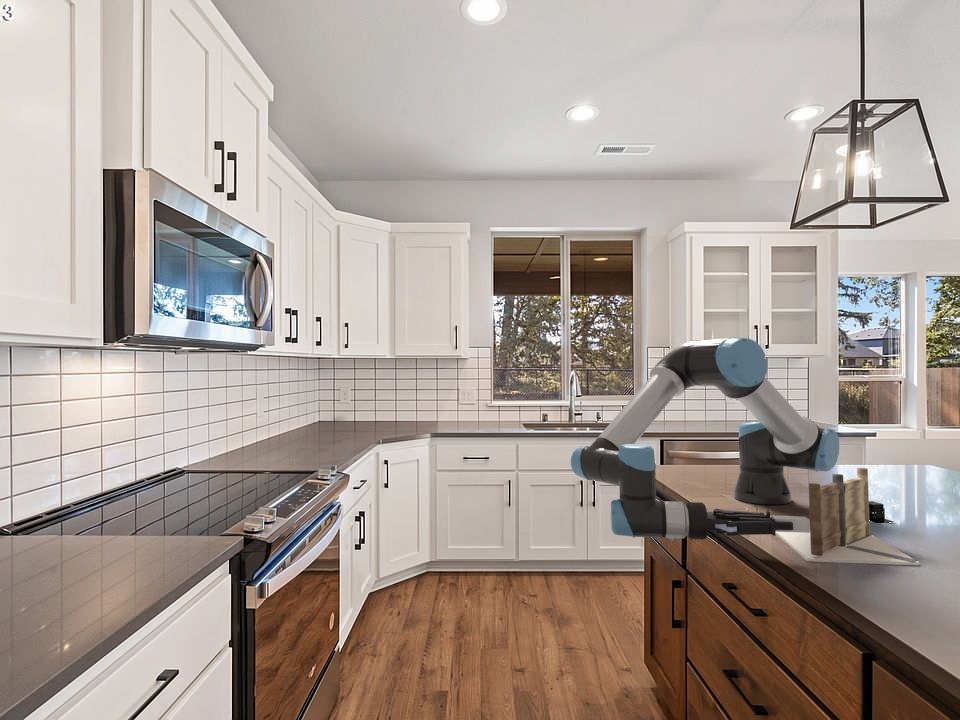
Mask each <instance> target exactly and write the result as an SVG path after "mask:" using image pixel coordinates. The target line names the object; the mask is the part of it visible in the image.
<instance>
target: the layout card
mask: <svg viewBox="0 0 960 720" xmlns="http://www.w3.org/2000/svg"><path fill="white" fill-rule="evenodd" d="M775 533H776V535H775V536H777V537H778V538H779V539H780V540H782V541H783V542H784V543H785V544H786V545H787V546H789V547H790V548H791V549H792V550H794V551H795V552H796V553H797V554H798V555H799V556H800V557H802V558H803V559H804V560H805V561H807V562H817V563H840V564H841V563H843V564H844V563H845V564H846V563H847V564H868V565H869V564H870V565H871V564H873V565H894V566H895V565H896V566H919V565H921V564H920V562H921V561H918V559H914V558H912V557H911V556H909V555H907V554H906V553H904V552H902V551H900V550H898V549H897V548H895V547H893V546H891V545H890V544H888V543H886V542H884V541H883V540H881V539H879V538H878V537H876V536H874V535H873V534H871V533H870V536H865V537H862V538H860V539H857V540H855V541H852V542H850V543H848V544H846V546H843V547H842V546H836V547H834V548H832V549H830V550H828V551H826V552H824V553H823V554H822V556H816V555H812V554H811V540H810V533H803V532H777V531H775Z"/></svg>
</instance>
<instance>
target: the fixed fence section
mask: <svg viewBox="0 0 960 720" xmlns="http://www.w3.org/2000/svg"><path fill="white" fill-rule="evenodd" d="M868 469H869V468H866V467H857V468H856V475H857V477H854V478H852V479H847V480H844V474H841V473H832V475H831V477H832V479H831V480H832V482H831V483H837V484H838V488H839V492H840V494H839V523H840V531H841V537H840V545H838V546H842V547H843V546H846V544H848V543H850V542H852V541H855V540H857V539H860V538H862V537H865V536H870V534H871V531H870V530H871V527H870V521H869V501H870V499H869V494H870V493H869V474H868V473H869V472H868V471H869V470H868Z"/></svg>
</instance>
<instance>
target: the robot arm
mask: <svg viewBox="0 0 960 720" xmlns="http://www.w3.org/2000/svg"><path fill="white" fill-rule="evenodd" d="M765 356H766V353H765V351H764V349H763V348H762V346H761V345H760V344H759V343H758V342H757V341H755V340H753V339H751V338H748V337H737V336H736V337H735V336H732V337H725V338H714V339H702V340H690V341H687V342H685V343H683V344H681V345H679V346H677V347H676V348H674V349H672V350H671V351H669V352H668V354H666V355H664V356H663V358H661V359H660V360H659V361H658V362H657V363H656V364H655V366H654V367H652V368H651V370H650V372H649V378H648V380H647V381H645V383H644V384H643V385H642V386H641V388H640V389H639V390H638V391H637V392H636V393H635V394H634V395H633V396H632V398H631V399H630V400H629V401H628V402H627V403H626V404H625V405H624V407H623V408H622V409H621V410H620V412H618V414H617V415H616V416H615V417H614V418H613V420H611V421H610V423H608V425H607V426H606V427H605V429H604V430H603V431H602V432H601V433H600V435H599V436H597V438H596V439H595V440H594V441H593V442H592V443H591V444H590V445H589V446H588V445H585V446H584V445H583V446H579V447H577V448H575V449H574V451H573V453H572V454H571V457H570V467H571V470H572V471H573V473H574V474H575V475H576V476H578V477H579V478H582V479H585V480H588V481H596V482H600V483H604V484H609V485H613V486H618V488H619V489H618V490H619V498H618V499H612V500H611V502H610V528H611V532H612V533H613V534H614V535H616V536H625V537H632V538H663V539H669V541H672V542H673V541H675V539H685V538H686V537H687V538H688V539H689V540H701V541H703V540H706V539H707V537H708V532H709V531H712V532H713V531H714V532H716V533H717V534H726V536H729V537H733V536H746V535H747V536H748V535H749V536H751V535H756V536H758V535H759V536H760V535H761V536H762V535H771V536H772V537H773V536H774V537H775V536H777V535H776V533H775V531H777V532H803V533H810V518H808V516H799V515H798V516H794V515H792V516H791V515H771V512H770V511H767V510H766V511H765V513H766V514H765V513H764V512H756V511H755V512H754V511H741V510H740V511H739V510H730V509H729V510H728V509H720V508H715V509H713V511H707V507H706V505H705V503H704V502H696V501H687V502H685V504H684V502H683V501H674V500H673V501H668V500H667V501H666V500H665V501H664V500H663V501H662V500H661V501H659V500H657V497H656V495H657V491H656V489H657V488H656V487H657V486H656V483H657V482H656V469H657V464H656V458H655V456H656V455H655V450H654V448H653V447H652V446H651V445H649V444H643V443H641V444H640V443H637V442H638V441H639V439H640V438H641V437H642V436H643V435H644V434H645V432H646V431H647V429H649V427H650V426H651V425H652V424H653V422H654V421H655V420H656V419H658V416H659V415H660V414H661V413H662V412H663V410H665V408H666V407H667V406H668V404H670V402H671V401H672V400H673V398H674V397H679V396H681V395H682V394H683V393H684V392H685V390H687V389H689V388H691V387H695V386H700V387H704V386H705V387H715V388H717V389H718V390H719V391H720V392H721V393H722V394H723V395H724V396H726V397H727V398H729V399H732V400H733V399H734V400H737V401H738V402H739V403H740V404H742V405H743V407H744V408H745V409H747V411H749V413H750V414H752V415H753V417H754V418H755V419H756V420H757V421H752V422H751V421H750V422H743V423H741V424H740V425H739V427H738V451H739V473H738V477H737V480H736V483H735V486H734V490H733V491H734V492H733V497H734V498H735V499H736V500H738V501H742V502H744V503H749V504H760V505H786V504H790V503H792V493H791V490H790V488H789V485H788V482H787V480H786V476H785V473H784V472H785V471H784V468H785V467H786V468H793V469H800V470H807V471H814V472H830V471H832V469H833V468H834V467H835V466H836V464H837V462H838V459H839V456H840V455H839V454H840V438H839V436H838V433H837V431H836V430H835V429H832V428H829V427H825V428H822V427H820V426H818V424H817V423H816V422H815V421H814V420H812V419H811V418H809V417H807V416H804V415H800V414H799V412H797V410H796V409H795V408H794V407H793V406H792V405H791V404H790V403H789V401H788V400H787V399H786V398H785V397H784V396H783V395H782V394H781V392H779V390H778V389H777V388H776V387H775V386H774V385H773V384H772V382H771V381H770V380H768V378H767V373H768V360H767V358H765Z"/></svg>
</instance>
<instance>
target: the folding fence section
mask: <svg viewBox="0 0 960 720" xmlns="http://www.w3.org/2000/svg"><path fill="white" fill-rule="evenodd" d="M839 494H840V492H839V488H838V484H837V483H833V482H831V483H830V482H829V483H827V484H825V485H821V484H820V483H816V482H815V483H814V482H812V483H811V482H810V483H808V501H809V502H808V507H809V519H810V540H811V554H812V555H816V556H822V554H823V553H824V552H826V551H828V550H830V549H832V548H834V547H836V546H838V545H840V537H841V531H840V523H839Z"/></svg>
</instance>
